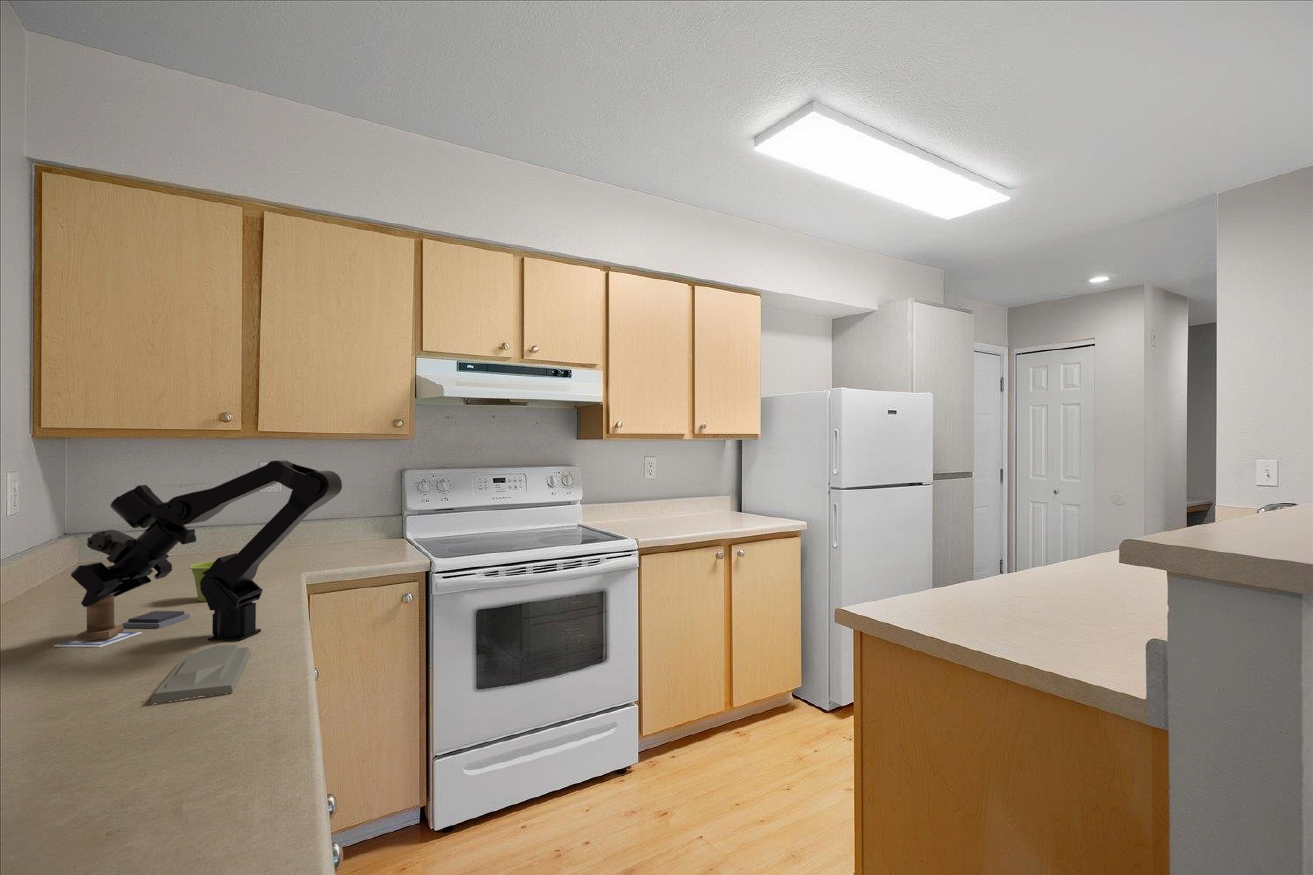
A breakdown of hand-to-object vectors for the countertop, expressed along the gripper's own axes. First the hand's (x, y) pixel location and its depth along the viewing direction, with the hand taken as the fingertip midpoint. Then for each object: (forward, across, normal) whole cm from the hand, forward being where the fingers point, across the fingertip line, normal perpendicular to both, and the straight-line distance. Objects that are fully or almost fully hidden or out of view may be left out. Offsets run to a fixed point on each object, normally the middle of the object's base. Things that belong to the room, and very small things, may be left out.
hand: (93, 602), depth 120 cm
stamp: (+4, 0, +6) cm, 7 cm away
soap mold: (-19, +23, +31) cm, 43 cm away
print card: (+4, 0, +6) cm, 7 cm away
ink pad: (+2, -12, +8) cm, 14 cm away
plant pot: (+4, -33, +7) cm, 34 cm away
